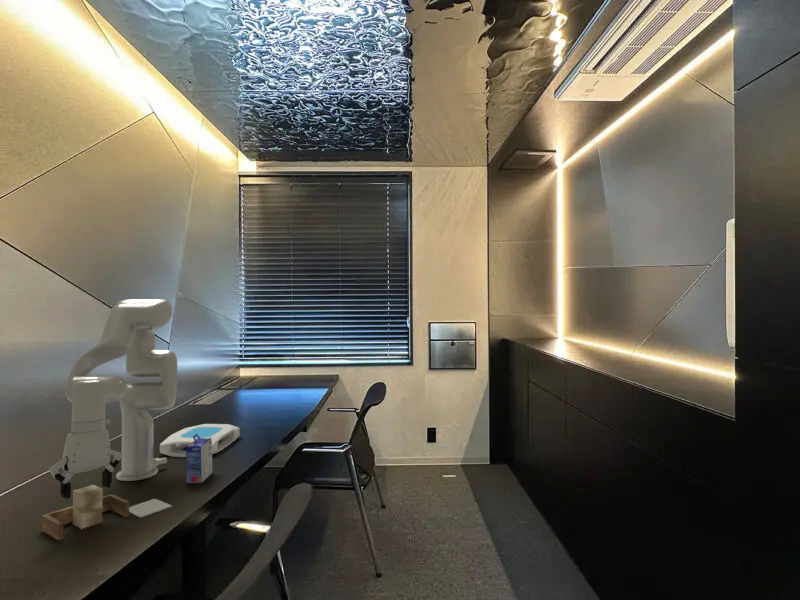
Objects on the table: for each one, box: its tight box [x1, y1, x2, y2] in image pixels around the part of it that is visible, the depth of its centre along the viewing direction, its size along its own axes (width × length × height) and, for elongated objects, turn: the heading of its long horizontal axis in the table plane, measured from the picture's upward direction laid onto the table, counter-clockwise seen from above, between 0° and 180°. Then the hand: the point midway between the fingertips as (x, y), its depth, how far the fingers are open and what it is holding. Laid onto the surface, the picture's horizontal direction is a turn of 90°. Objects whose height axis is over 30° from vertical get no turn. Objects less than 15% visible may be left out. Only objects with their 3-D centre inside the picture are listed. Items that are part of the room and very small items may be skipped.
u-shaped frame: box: [41, 493, 130, 541], centre depth 127 cm, size 17×10×4 cm, turn 147°
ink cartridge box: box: [185, 434, 213, 484], centre depth 161 cm, size 10×6×14 cm, turn 2°
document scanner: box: [159, 423, 241, 458], centre depth 198 cm, size 21×28×6 cm
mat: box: [129, 498, 173, 519], centre depth 137 cm, size 9×9×1 cm
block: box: [72, 484, 104, 530], centre depth 127 cm, size 5×5×9 cm
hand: (86, 491), depth 127 cm, fingers open, 9 cm apart
